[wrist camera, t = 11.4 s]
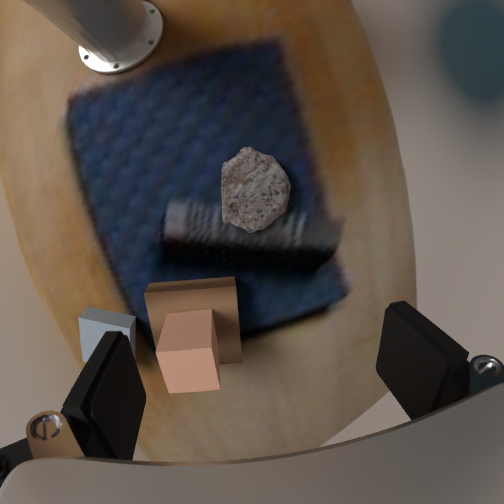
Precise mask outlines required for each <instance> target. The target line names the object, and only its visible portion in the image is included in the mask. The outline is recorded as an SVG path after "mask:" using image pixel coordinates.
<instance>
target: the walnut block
mask: <svg viewBox="0 0 504 504" xmlns="http://www.w3.org/2000/svg"><path fill="white" fill-rule="evenodd" d="M144 296H145V301H146V306H147V311H148V316H149V320H150V325H151V329H152V334H153V338H154V342H155V346H156V350H157V346H158V342H159V339H160V335H161V332H162V329H163V325H164V322H165V318H166V315H167V314H170V313H179V312H189V311H198V310H206V309H212V314H213V319H214V325H215V331H216V336H217V342H218V349H219V365H220V364H232V363H243V362H242V351H241V340H240V328H239V317H238V305H237V292H236V283H235V277H224V278H212V279H200V280H187V281H173V282H159V283H149V285H148V287H147V288H146V290H145V292H144Z"/></svg>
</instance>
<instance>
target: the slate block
mask: <svg viewBox="0 0 504 504" xmlns="http://www.w3.org/2000/svg"><path fill="white" fill-rule="evenodd" d="M79 328H80V339H81V349H82V357H83V362H87V361H88V359H89V358H90V356H91V354H92V353H93V351H94V349H95V348H96V346H97V344H98V343H99V341H100V339H101V338H102V336H103V335H104V333H105V332H106V331H122V332H123V334H124V335H127V336H128V338H129V341H130V345H131V348H132V352H133V355H134V358H135V359H136V356H135V339H136V316H131V315H126V314H121V313H116V312H111V311H107V310H102V309H97V308H93V307H87V308H86V309H85V310H84V312H83V313H82V314H81V315H80V316H79Z"/></svg>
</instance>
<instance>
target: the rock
mask: <svg viewBox="0 0 504 504" xmlns="http://www.w3.org/2000/svg"><path fill="white" fill-rule="evenodd" d="M290 188H291V184H290V182H289V179H288V176H287V175H286V173H285V171H284V170H283V169H282V167H281V166H280V164H279V163H277V161H276V160H275V159H274V158H273V156H269V155H265V154H263V153H261V152H258V151H256V150H255V149H253V148H252V147H245V148H242V149H241V150H240V152H239V153H238V154H237V156H235V157H234V158H232V159H231V160H230V161H228V162H224V163H223V167H222V183H221V193H222V219H223V223H225V224H226V223H229V224H230V223H232V224H233V225H234V226H237V227H241V228H243V229H245V230H246V231H248V232H249V233H253V232H255V231H257V230H263V229H265V228H266V227H267V226H268V225H270V224H271V223H272V222H273V221H274V220H276V219H277V218H278V217H279V216H281V215H282V214H284V213H285V212H286V209H287V205H288V201H289V195H290Z"/></svg>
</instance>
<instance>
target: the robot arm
mask: <svg viewBox="0 0 504 504" xmlns="http://www.w3.org/2000/svg"><path fill="white" fill-rule="evenodd" d="M22 1H23V2H25V3H27V4H28V5H30V6H31V7H32V8H34V9H35V10H37V11H38V12H39V13H40V14H42V15H43V16H44V17H45V18H47V19H48V20H49V21H50V22H52V23H53V24H54V25H55V26H57V27H58V28H59V29H60V30H61V31H63V32H64V33H65V34H66V35H68V36H69V37H70V38H71V39H72V40H74V41H75V42H76V43H77V44H78V45H79V54H80V58H81V60H82V61H83V63H84V64H85V65H86V66H87V67H88V68H90V69H91V70H93V71H95V72H97V73H102V74H114V73H120V72H123V71H126V70H129V69H131V68H133V67H135V66H137V65H138V64H139V63H141V62H142V61H144V60H145V59H146V58H147V57H148V56H149V55H150V54H151V53H152V52H153V51H154V49H155V48H156V47H157V45H158V43H159V42H160V39H161V37H162V34H163V19H162V16H161V14H160V12H159V10H158V9H157V8H156V7H155V6H154V5H152V4H151V3H149V2H146V1H143V0H22ZM152 43H153V44H152ZM151 44H152V45H151ZM118 66H119V67H118ZM117 67H118V68H117ZM468 355H469V352H468V351H467V350H465V349H464V348H463V347H462V346H461V345H459V344H458V343H457V342H456V341H455V340H453V339H452V338H451V337H450V336H448V335H447V334H446V333H445V332H444V331H442V330H441V329H440V328H438V327H437V326H436V325H435V324H434V323H432V322H431V321H430V320H429V319H427V318H426V317H425V316H424V315H422V314H421V313H420V312H419V311H417V310H416V309H415V308H413V307H412V306H411V305H410V304H408V303H407V302H406V301H399V302H394V303H391V304H390V305H389V307H388V308H386V310H385V315H384V322H383V328H382V334H381V340H380V346H379V352H378V357H377V362H376V371H377V373H378V375H379V376H380V377H381V379H382V380H383V382H384V383H385V384H386V386H387V387H388V388H389V390H390V391H391V392H392V394H393V395H394V396H395V398H396V399H397V401H398V402H399V403H400V405H401V406H402V408H403V409H404V410H405V412H406V413H407V415H408V416H409V417H410V419H411V421H409V422H406V423H403V424H400V425H397V426H394V427H392V428H388V429H385V430H382V431H379V432H376V433H373V434H369V435H366V436H363V437H359V438H355V439H352V440H348V441H344V442H340V443H336V444H332V445H328V446H324V447H319V448H314V449H309V450H304V451H298V452H293V453H287V454H280V455H274V456H266V457H258V458H249V459H239V460H227V461H209V462H152V461H133V460H132V459H133V455H134V450H135V445H136V441H137V437H138V432H139V428H140V424H141V420H142V416H143V411H144V407H145V403H146V393H145V389H144V387H143V384H142V381H141V377H140V374H139V371H138V368H137V365H136V362H135V358H134V355H133V352H132V348H131V345H130V341H129V338H128V336H127V335H124V334H123V332H122V331H106V332H105V333H104V335H103V336H102V338H101V339H100V341H99V343H98V344H97V346H96V348H95V349H94V351H93V353H92V354H91V356H90V358H89V359H88V361H87V363H86V365H85V366H84V368H83V370H82V371H81V373H80V375H79V377H78V378H77V380H76V382H75V384H74V386H73V387H72V389H71V391H70V393H69V395H68V397H67V398H66V400H65V402H64V404H63V408H62V410H61V412H60V413H59V412H56V411H44V412H40V413H38V414H36V415H35V416H33V417H32V418H31V419H30V421H29V422H28V423H27V426H26V435H27V438H24V439H22V440H20V441H18V442H15V443H13V444H10V445H8V446H6V447H3V448H1V449H0V504H504V365H503V364H502V362H501V361H500V360H498V359H497V358H495V357H493V356H489V355H479V356H475V357H473V358H472V360H471V361H470V363H469V362H468V361H467V358H468Z"/></svg>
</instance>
